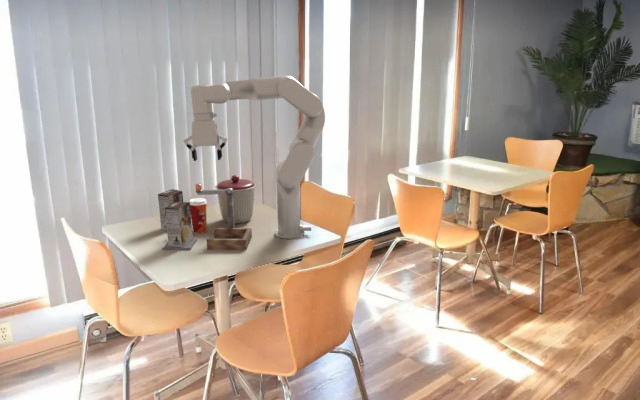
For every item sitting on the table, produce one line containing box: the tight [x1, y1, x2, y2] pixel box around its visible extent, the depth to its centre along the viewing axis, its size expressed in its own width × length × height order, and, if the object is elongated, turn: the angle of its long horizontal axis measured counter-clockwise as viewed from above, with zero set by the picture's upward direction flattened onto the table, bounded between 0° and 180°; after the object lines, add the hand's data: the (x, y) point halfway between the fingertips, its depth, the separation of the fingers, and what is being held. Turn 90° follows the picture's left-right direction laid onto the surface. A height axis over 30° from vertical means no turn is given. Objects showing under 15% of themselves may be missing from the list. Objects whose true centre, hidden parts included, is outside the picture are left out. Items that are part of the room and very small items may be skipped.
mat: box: [162, 238, 198, 251], centre depth 229 cm, size 11×11×1 cm
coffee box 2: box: [165, 201, 194, 247], centre depth 227 cm, size 9×6×16 cm
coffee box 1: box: [157, 189, 184, 231], centre depth 248 cm, size 9×6×16 cm
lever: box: [195, 183, 233, 196], centre depth 233 cm, size 15×3×4 cm, turn 96°
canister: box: [215, 174, 257, 224], centre depth 257 cm, size 18×18×21 cm
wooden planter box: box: [206, 194, 253, 251], centre depth 230 cm, size 16×18×18 cm
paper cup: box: [188, 197, 208, 234], centre depth 243 cm, size 8×8×14 cm
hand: (207, 159), depth 228 cm, fingers open, 9 cm apart
